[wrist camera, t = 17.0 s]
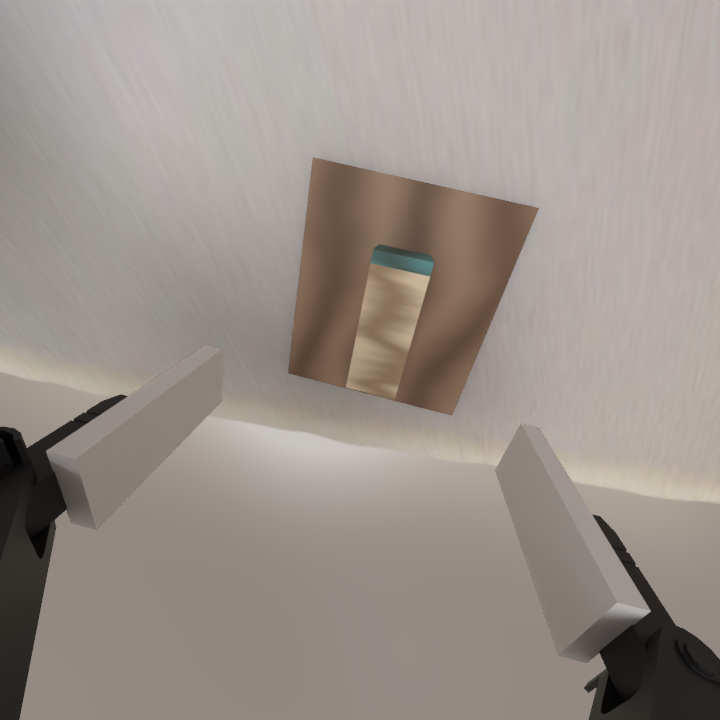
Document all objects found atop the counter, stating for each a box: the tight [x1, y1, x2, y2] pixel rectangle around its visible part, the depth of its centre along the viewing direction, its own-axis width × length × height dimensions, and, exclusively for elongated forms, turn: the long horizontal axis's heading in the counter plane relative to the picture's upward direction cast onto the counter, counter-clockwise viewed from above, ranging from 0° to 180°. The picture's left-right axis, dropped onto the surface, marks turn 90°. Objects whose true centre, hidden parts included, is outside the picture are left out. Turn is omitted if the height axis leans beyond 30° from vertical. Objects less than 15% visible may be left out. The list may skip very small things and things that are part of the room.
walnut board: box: [288, 158, 539, 415], centre depth 29 cm, size 18×20×1 cm
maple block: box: [346, 244, 434, 400], centre depth 27 cm, size 4×4×12 cm
